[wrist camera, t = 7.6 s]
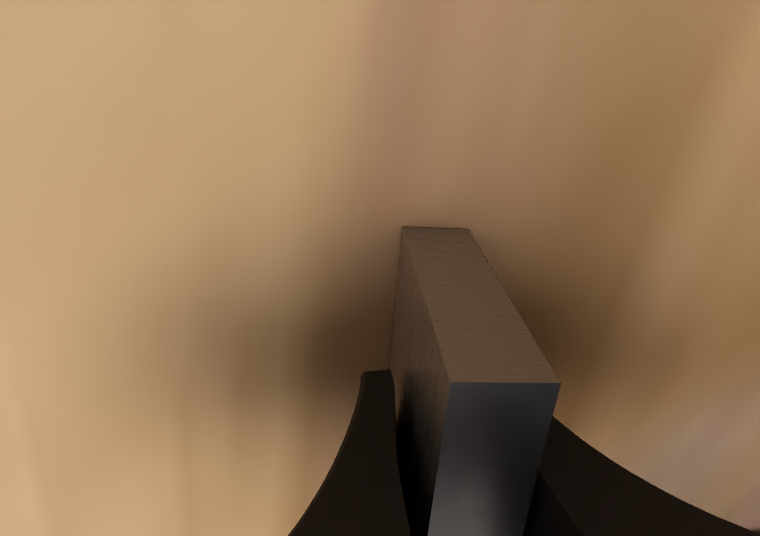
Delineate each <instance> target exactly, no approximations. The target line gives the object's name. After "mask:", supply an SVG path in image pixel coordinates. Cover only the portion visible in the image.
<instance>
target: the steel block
mask: <svg viewBox="0 0 760 536" xmlns="http://www.w3.org/2000/svg"><path fill="white" fill-rule="evenodd" d="M389 370H391V373H392V377H393V381H394V386H395V405H396V428H397V451H398V469H399V475H400V481H401V487H402V492H403V498H404V503H405V509H406V514H407V520H408V525H409V530H410V535H411V536H522V535H523V531H524V527H525V523H526V519H527V515H528V511H529V507H530V503H531V499H532V495H533V491H534V487H535V483H536V479H537V475H538V471H539V467H540V463H541V459H542V455H543V451H544V447H545V443H546V439H547V435H548V431H549V427H550V423H551V419H552V415H553V412H554V408H555V404H556V400H557V396H558V392H559V388H560V384H561V383H560V381H559V379H558V378H557V376H556V374H555V373H554V371H553V369H552V368H551V366H550V364H549V363H548V361H547V359H546V358H545V356H544V354H543V353H542V351H541V349H540V348H539V346H538V344H537V343H536V341H535V339H534V338H533V336H532V334H531V333H530V331H529V329H528V328H527V326H526V324H525V323H524V321H523V319H522V318H521V316H520V314H519V313H518V311H517V309H516V308H515V306H514V304H513V303H512V301H511V299H510V298H509V296H508V294H507V293H506V291H505V289H504V288H503V286H502V284H501V283H500V281H499V279H498V278H497V276H496V274H495V273H494V271H493V269H492V268H491V266H490V264H489V263H488V261H487V259H486V258H485V256H484V254H483V253H482V251H481V249H480V248H479V246H478V244H477V243H476V241H475V239H474V238H473V236H472V234H471V233H470V231H469V229H447V228H420V227H402V236H401V247H400V258H399V269H398V280H397V291H396V302H395V313H394V324H393V335H392V346H391V357H390V368H389Z"/></svg>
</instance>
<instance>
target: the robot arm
mask: <svg viewBox="0 0 760 536" xmlns="http://www.w3.org/2000/svg"><path fill="white" fill-rule="evenodd" d="M288 536H411V535H410V530H409V525H408V520H407V514H406V509H405V503H404V498H403V492H402V487H401V481H400V475H399V469H398V451H397V428H396V405H395V386H394V381H393V377H392V373H391V370H379V371H367V372H364V373H363V374H362V375H361V383H360V390H359V395H358V399H357V403H356V406H355V410H354V413H353V416H352V419H351V422H350V425H349V427H348V430H347V433H346V435H345V438H344V440H343V442H342V445H341V447H340V449H339V452H338V454H337V456H336V458H335V460H334V462H333V464H332V466H331V469H330V470H329V472H328V474H327V476H326V478H325V480H324V482H323V483H322V485H321V487H320V489H319V490H318V492H317V494H316V495H315V497H314V499H313V500H312V502H311V503H310V505H309V507H308V508H307V510H306V511H305V513H304V514H303V516H302V517H301V519H300V520H299V522H298V523H297V524H296V526H295V527H294V529H293V530H292V531H291V532H290V534H289V535H288ZM522 536H760V534H758V533H756V532H753V531H751V530H748V529H746V528H743V527H741V526H738V525H736V524H733V523H731V522H728V521H726V520H724V519H721V518H719V517H716V516H714V515H712V514H710V513H708V512H705V511H703V510H701V509H699V508H697V507H695V506H693V505H691V504H689V503H687V502H684V501H682V500H680V499H678V498H676V497H674V496H673V495H671V494H669V493H667V492H665V491H663V490H661V489H659V488H657V487H656V486H654V485H652V484H650V483H649V482H647V481H645V480H643V479H642V478H640V477H638V476H636V475H634V474H633V473H631V472H629V471H628V470H626V469H625V468H623V467H621V466H620V465H618V464H617V463H615V462H614V461H612V460H611V459H609V458H608V457H606V456H605V455H603V454H602V453H600V452H599V451H597V450H596V449H594V448H593V447H591V446H590V445H589V444H587V443H586V442H584V441H583V440H582V439H580V438H579V437H578V436H577V435H575V434H574V433H573V432H572V431H570V430H569V429H568V428H566V427H565V426H564V425H563V424H562V423H560V422H559V421H558V420H557V419H556V418H554V417H553V416H552V419H551V423H550V427H549V431H548V435H547V439H546V443H545V447H544V451H543V455H542V459H541V463H540V467H539V471H538V475H537V479H536V483H535V487H534V491H533V495H532V499H531V503H530V507H529V511H528V515H527V519H526V523H525V527H524V531H523V535H522Z"/></svg>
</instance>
